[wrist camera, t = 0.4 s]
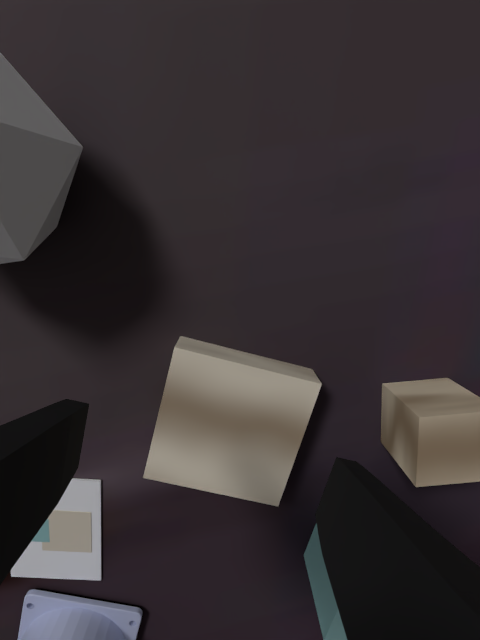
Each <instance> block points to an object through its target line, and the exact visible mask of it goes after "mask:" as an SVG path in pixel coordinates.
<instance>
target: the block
mask: <svg viewBox="0 0 480 640" xmlns="http://www.w3.org/2000/svg"><path fill="white" fill-rule="evenodd" d="M381 443H382V444H383V445H384V446H385V448H386V449H387V450H388V452H389V453H390V454H391V456H392V457H393V458H394V459H395V461H396V462H397V463H398V465H399V466H400V467H401V469H402V470H403V471H404V472H405V474H406V475H407V476H408V478H409V479H410V480H411V482H412V483H413V484H414V485H415V487H424V486H435V485H446V484H457V483H468V482H479V481H480V397H478V396H477V395H475V394H473V393H472V392H470V391H468V390H467V389H465V388H463V387H462V386H460V385H458V384H457V383H455V382H454V381H452V380H450V379H449V378H440V379H429V380H418V381H406V382H395V383H384V384H382V417H381Z"/></svg>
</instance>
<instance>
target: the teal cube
mask: <svg viewBox="0 0 480 640" xmlns="http://www.w3.org/2000/svg"><path fill="white" fill-rule="evenodd" d="M304 559H305V563H306V567H307V572H308V576H309V580H310V584H311V589H312V593H313V597H314V601H315V606H316V610H317V614H318V618H319V623H320V627H321V631H322V635H323V640H347V637H346V634H345V630H344V627H343V624H342V620H341V617H340V614H339V610H338V607H337V604H336V600H335V597H334V594H333V590H332V587H331V583H330V580H329V577H328V573H327V570H326V566H325V563H324V559H323V556H322V551H321V546H320V541H319V535H318V529H317V523H316V525H315V527H314V530H313V533H312V535H311V538H310V540H309V543H308V545H307V548H306V550H305V553H304Z"/></svg>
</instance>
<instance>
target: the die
mask: <svg viewBox="0 0 480 640" xmlns="http://www.w3.org/2000/svg"><path fill="white" fill-rule="evenodd" d="M82 149H83V147H82V145H81V144H80V143H79V142H78V141H77V140H76V139H75V137H74V136H73V135H72V134H71V133H70V132H69V130H68V129H67V128H66V127H65V126H64V125H63V124H62V122H61V121H60V120H59V119H58V118H57V117H56V116H55V114H54V113H53V112H52V111H51V110H50V109H49V108H48V106H47V105H46V104H45V103H44V102H43V101H42V100H41V98H40V97H39V96H38V95H37V94H36V93H35V92H34V90H33V89H32V88H31V87H30V86H29V85H28V84H27V82H26V81H25V80H24V79H23V78H22V77H21V76H20V74H19V73H18V72H17V71H16V70H15V69H14V68H13V66H12V65H11V64H10V63H9V62H8V61H7V60H6V58H5V57H4V56H3V55H2V54H1V53H0V264H3V263H10V262H17V261H24V260H25V259H26V258H27V257H28V256H29V255H30V254H31V253H32V252H33V251H34V250H35V249H36V248H37V247H38V246H39V245H40V244H41V243H42V242H43V241H44V240H45V239H46V238H47V237H48V236H49V235H50V234H51V233H52V232H53V231H54V230H55V228H56V227H57V225H58V222H59V219H60V216H61V213H62V210H63V207H64V204H65V201H66V198H67V195H68V192H69V189H70V186H71V183H72V180H73V177H74V174H75V171H76V167H77V164H78V161H79V158H80V155H81V152H82Z"/></svg>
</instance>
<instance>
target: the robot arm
mask: <svg viewBox="0 0 480 640" xmlns="http://www.w3.org/2000/svg"><path fill="white" fill-rule="evenodd" d="M88 407H89V404H87V403H83V402H78V401H74V400H69V399H65V400H62V401H59V402H57V403H54V404H52V405H49V406H47V407H44V408H42V409H40V410H37V411H35V412H33V413H30V414H28V415H25V416H23V417H20V418H18V419H16V420H13V421H11V422H8V423H6V424H3V425H1V426H0V584H1V583H2V581H3V580H4V579H5V577H6V576H7V574H8V573H9V572H10V570H11V569H12V568H13V566H14V565H15V563H16V562H17V561H18V559H19V558H20V556H21V555H22V554H23V552H24V551H25V549H26V548H27V547H28V545H29V544H30V542H31V541H32V540H33V538H34V537H35V535H36V534H37V533H38V531H39V530H40V528H41V527H42V526H43V524H44V523H45V521H46V520H47V519H48V517H49V516H50V514H51V513H52V511H53V510H54V509H55V507H56V506H57V504H58V503H59V501H60V499H61V497H62V496H63V494H64V492H65V490H66V489H67V487H68V485H69V483H70V481H71V480H72V478H73V476H74V474H75V472H76V470H77V469H78V465H79V459H80V453H81V448H82V442H83V436H84V430H85V424H86V419H87V413H88ZM315 516H316V523H317V529H318V535H319V541H320V546H321V551H322V556H323V559H324V563H325V566H326V570H327V573H328V577H329V580H330V583H331V587H332V590H333V594H334V597H335V600H336V604H337V607H338V610H339V614H340V617H341V620H342V624H343V627H344V630H345V634H346V637H347V640H480V567H479V566H478V565H476V564H475V563H474V562H473V561H471V560H470V559H469V558H468V557H466V556H465V555H464V554H463V553H462V552H460V551H459V550H458V549H457V548H456V547H454V546H453V545H452V544H451V543H450V542H448V541H447V540H446V539H445V538H444V537H442V536H441V535H440V534H439V533H438V532H437V531H435V530H434V529H433V528H432V527H431V526H430V525H428V524H427V523H426V522H425V521H424V520H423V519H422V518H421V517H419V516H418V515H417V514H416V513H415V512H414V511H413V510H412V509H410V508H409V507H408V506H407V505H406V504H405V503H404V502H403V501H401V500H400V499H399V498H398V497H397V496H396V495H395V494H394V493H393V492H391V491H390V490H389V489H388V488H387V487H386V486H385V485H384V484H383V483H381V482H380V481H379V480H378V479H377V478H376V477H375V476H373V475H372V474H371V473H370V472H369V471H368V470H366V469H365V468H364V467H363V466H361V465H360V464H359V463H357V462H356V461H351V460H346V459H342V458H337V457H336V460H335V463H334V465H333V468H332V471H331V474H330V476H329V479H328V482H327V484H326V487H325V490H324V492H323V495H322V498H321V501H320V503H319V506H318V509H317V511H316V514H315ZM142 614H143V612H142V610H141V609H140V608H138V607H134V606H128V605H122V604H117V603H111V602H105V601H100V600H94V599H88V598H82V597H77V596H71V595H65V594H59V593H54V592H48V591H42V590H37V589H32V590H30V591H28V592H27V594H26V596H25V598H24V603H23V609H22V616H21V622H20V628H19V634H18V640H136V637H137V633H138V630H139V626H140V622H141V618H142Z"/></svg>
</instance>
